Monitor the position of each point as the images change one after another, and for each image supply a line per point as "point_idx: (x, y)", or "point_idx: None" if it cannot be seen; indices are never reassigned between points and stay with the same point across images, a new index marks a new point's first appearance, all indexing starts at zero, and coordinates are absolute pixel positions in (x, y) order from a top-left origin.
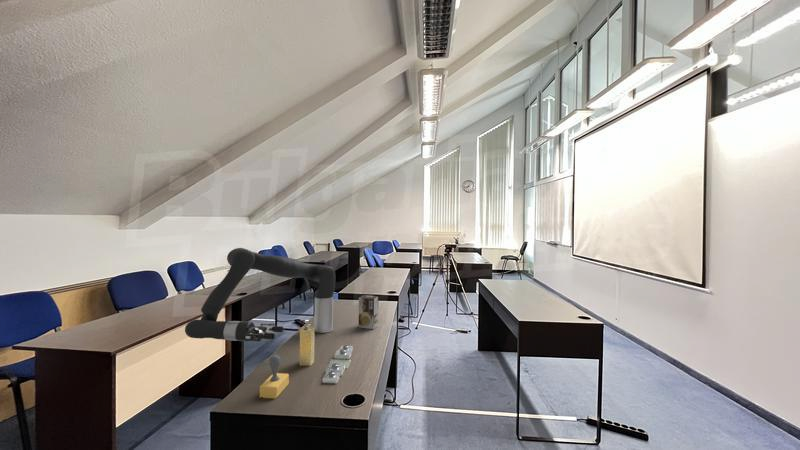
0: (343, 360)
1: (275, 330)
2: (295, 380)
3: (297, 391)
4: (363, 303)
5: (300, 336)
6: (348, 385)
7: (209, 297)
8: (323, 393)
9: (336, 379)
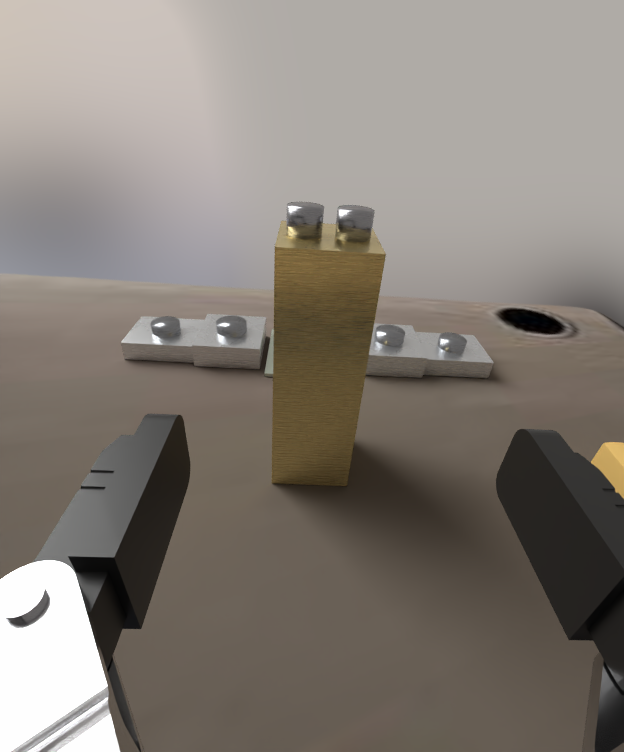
0: None
1: (146, 574)
2: None
3: (604, 433)
4: None
5: (375, 310)
6: (464, 330)
7: None
8: (552, 369)
9: (474, 337)
